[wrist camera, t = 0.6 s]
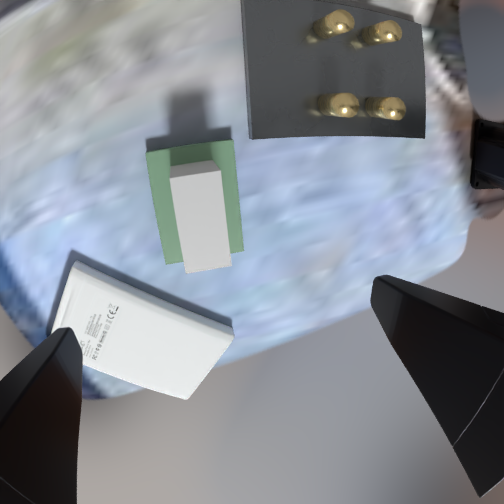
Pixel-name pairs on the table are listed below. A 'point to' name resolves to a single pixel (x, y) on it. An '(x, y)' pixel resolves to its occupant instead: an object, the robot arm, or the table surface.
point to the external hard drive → (139, 333)
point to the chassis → (331, 71)
